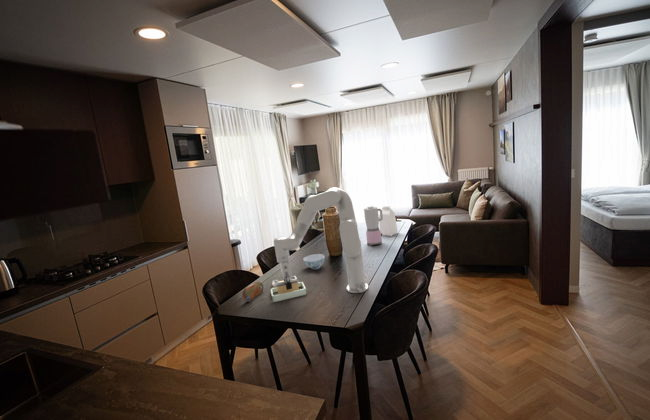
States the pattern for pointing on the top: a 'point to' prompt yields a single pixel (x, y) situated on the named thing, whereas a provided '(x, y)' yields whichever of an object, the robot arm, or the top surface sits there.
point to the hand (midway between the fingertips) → (288, 286)
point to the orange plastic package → (252, 291)
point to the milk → (388, 222)
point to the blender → (373, 225)
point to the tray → (288, 293)
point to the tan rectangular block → (282, 287)
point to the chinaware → (314, 261)
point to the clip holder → (281, 281)
